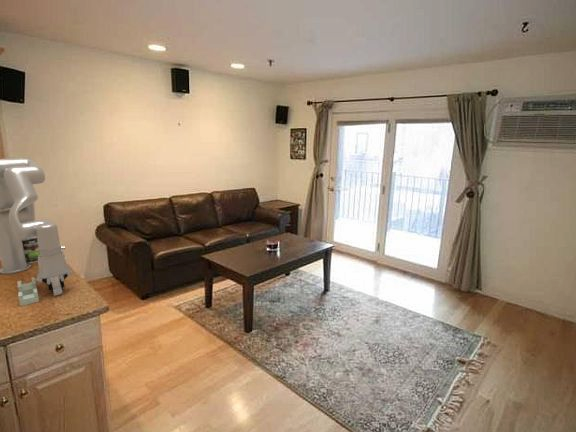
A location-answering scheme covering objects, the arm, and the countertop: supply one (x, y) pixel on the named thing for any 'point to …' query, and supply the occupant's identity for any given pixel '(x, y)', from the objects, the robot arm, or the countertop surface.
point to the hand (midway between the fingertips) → (57, 289)
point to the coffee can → (31, 250)
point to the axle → (56, 285)
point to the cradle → (27, 293)
